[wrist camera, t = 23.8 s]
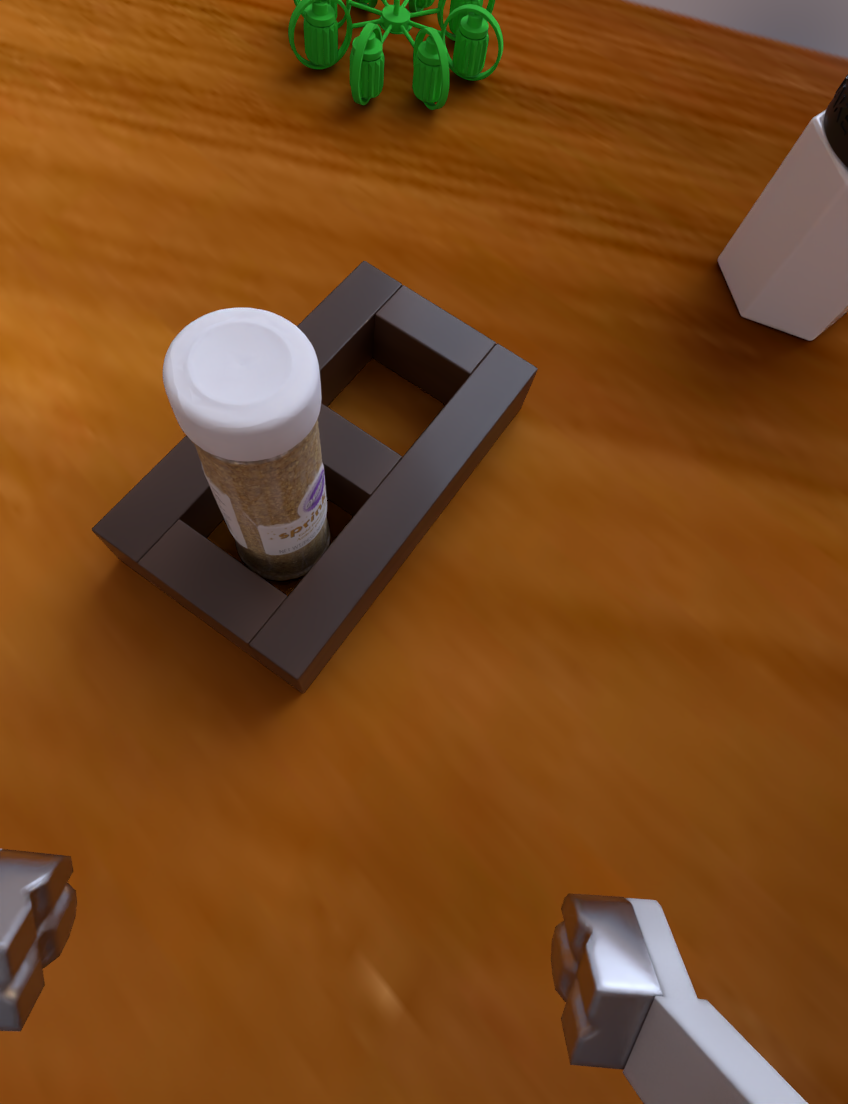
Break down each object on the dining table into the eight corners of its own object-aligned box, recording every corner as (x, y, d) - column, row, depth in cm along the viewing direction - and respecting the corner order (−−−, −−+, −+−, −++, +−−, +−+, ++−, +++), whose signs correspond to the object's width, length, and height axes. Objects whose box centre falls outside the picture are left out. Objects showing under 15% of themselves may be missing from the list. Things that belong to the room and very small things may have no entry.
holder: (118, 558, 30) (90, 529, 27) (362, 307, 37) (363, 259, 34) (303, 694, 29) (297, 680, 25) (521, 407, 36) (538, 368, 32)
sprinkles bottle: (322, 589, 31) (304, 441, 18) (225, 576, 30) (139, 416, 18) (338, 502, 32) (330, 313, 20) (246, 489, 32) (180, 288, 20)
